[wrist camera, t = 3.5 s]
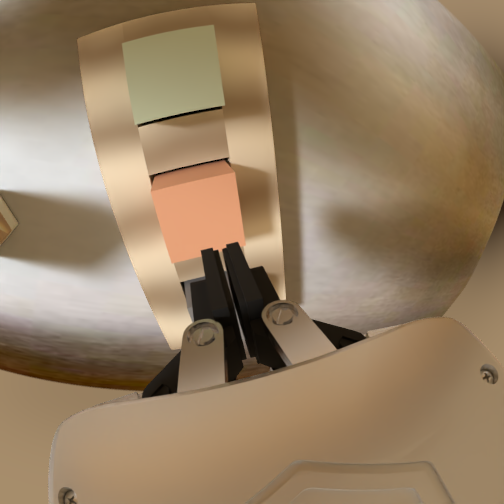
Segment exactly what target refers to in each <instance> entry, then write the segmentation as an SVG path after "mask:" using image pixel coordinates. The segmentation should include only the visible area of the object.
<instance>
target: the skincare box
mask: <svg viewBox="0 0 504 504" xmlns="http://www.w3.org/2000/svg"><path fill="white" fill-rule="evenodd" d="M17 225H18V222H17V220H16V219H15V217H14V216H13V214H12V213H11V211H10V210H9V208H8V206H7V205H6V203H5V202H4V200H3V199H2V197H1V196H0V246H1V245H2V243H3V242H4V241H5V240H6V239H7V237H8V236H9V235H10V234H11V233H12V231H13V230H14V229H15V228H16V227H17Z"/></svg>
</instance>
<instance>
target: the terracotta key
mask: <svg viewBox="0 0 504 504" xmlns="http://www.w3.org/2000/svg"><path fill="white" fill-rule="evenodd" d="M151 195H152V199H153V203H154V206H155V210H156V213H157V217H158V221H159V224H160V227H161V231H162V234H163V237H164V241H165V244H166V247H167V250H168V254H169V257H170V260H171V263H176V262H181V261H185V260H189V259H193V258H197V257H201V250H204V249H208V248H213V251H214V250H218V251H219V252H221V251H222V249H223V248H226V244H230V243H234V242H238V243H239V245H240V247H242V246H246V243H245V236H244V230H243V223H242V216H241V210H240V203H239V196H238V189H237V183H236V176H235V172H234V171H233V169H232V168H231V167H230V166H229V165H228V164H227V163H226V161H225V160H221V161H216V162H211V163H206V164H202V165H197V166H193V167H188V168H184V169H180V170H175V171H171V172H167V173H163V174H159V175H156V176H155V177H154V181H153V184H152V188H151Z"/></svg>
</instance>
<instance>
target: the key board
mask: <svg viewBox="0 0 504 504" xmlns="http://www.w3.org/2000/svg"><path fill="white" fill-rule="evenodd" d="M207 25H214V30H215V37H216V44H217V52H218V59H219V66H220V73H221V80H222V87H223V94H224V101H225V105H224V106H218V107H216V109H211V110H205V111H200V112H195V113H190V114H185V115H180V116H176V117H172V118H167V119H163V120H159V121H155V122H151V123H147V124H144V125H143V123H141V124H137V125H135V122H134V117H133V112H132V107H131V101H130V96H129V90H128V84H127V77H126V71H125V64H124V56H123V48H122V43H125V42H128V41H132V40H135V39H139V38H143V37H147V36H151V35H155V34H160V33H165V32H169V31H175V30H180V29H186V28H192V27H199V26H207ZM77 45H78V56H79V64H80V72H81V79H82V86H83V92H84V98H85V104H86V109H87V115H88V120H89V124H90V129H91V134H92V138H93V142H94V146H95V150H96V154H97V158H98V162H99V166H100V170H101V173H102V177H103V180H104V184H105V187H106V191H107V194H108V197H109V200H110V203H111V207H112V210H113V213H114V216H115V219H116V222H117V224H118V227H119V230H120V233H121V236H122V239H123V241H124V244H125V247H126V249H127V252H128V255H129V257H130V260H131V262H132V265H133V267H134V270H135V272H136V275H137V277H138V279H139V282H140V284H141V286H142V289H143V291H144V293H145V296H146V298H147V300H148V302H149V305H150V307H151V309H152V311H153V313H154V315H155V318H156V320H157V322H158V324H159V326H160V328H161V330H162V332H163V334H164V336H165V338H166V340H167V342H168V344H169V346H170V348H171V350H174V349H179V348H181V346H182V337H183V333H184V331H185V329H186V328H187V327H188V326H189V325H190V324H191V323H192V320H191V317H190V315H189V312H188V309H187V303H186V294H185V285H184V281H187V280H191V279H195V278H199V277H203V276H205V273H204V267H203V262H202V256H201V257H197V258H193V259H189V260H185V261H181V262H176V263H171V260H170V257H169V254H168V250H167V247H166V244H165V241H164V237H163V234H162V231H161V227H160V224H159V221H158V217H157V213H156V210H155V206H154V203H153V199H152V195H151V188H152V184H153V181H154V177H155V176H154V174H157V173H161V172H164V171H168V170H172V169H177V168H181V167H185V166H189V165H194V164H198V163H203V162H208V161H212V160H217V159H222V158H224V160H225V161H226V163H227V164H228V165H229V166H230V167H231V168H232V169H233V171H234V172H235V176H236V183H237V189H238V196H239V203H240V210H241V216H242V223H243V230H244V236H245V243H246V246H242V247H241V249H242V252H243V254H244V256H245V259H246V261H247V263H248V266H249V268H254V267H258V266H263V267H264V269H265V271H266V273H267V275H268V277H269V279H270V281H271V283H272V285H273V287H274V289H275V291H276V293H277V294H278V296H279V298H280V300H286V292H285V275H284V260H283V245H282V231H281V218H280V206H279V194H278V183H277V172H276V161H275V151H274V141H273V132H272V122H271V113H270V105H269V96H268V88H267V80H266V72H265V64H264V56H263V49H262V42H261V35H260V28H259V21H258V14H257V8H256V3H236V4H221V5H210V6H201V7H193V8H186V9H180V10H174V11H168V12H163V13H159V14H154V15H150V16H145V17H141V18H137V19H134V20H130V21H126V22H123V23H120V24H116V25H113V26H110V27H107V28H104V29H101V30H98V31H96V32H93V33H90V34H88V35H85V36H83V37H80V38H78V39H77ZM219 254H220V258H221V261H222V265H223V268H224V271H226V266H225V262H224V257H223V252H222V251H221V252H219Z"/></svg>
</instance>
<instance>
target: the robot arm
mask: <svg viewBox="0 0 504 504" xmlns="http://www.w3.org/2000/svg"><path fill="white" fill-rule="evenodd" d="M222 252H223V257H224V262H225V266H226V271H227V276H228V280H229V285H230V289H229V286H228V282H227V279H226V275H225V272H224V268H223V265H222V261H221V258H220V254H219V251H218V250H214V251H213V248H208V249H204V250H201V256H202V262H203V267H204V273H205V279H204V280H200V281H196V282H191V283H190V290H191V299H192V309H193V317H194V322H193V323H191V324H190V325H189V326H188V327H187V328H186V329H185V331H184V333H183V337H182V346H181V351H180V352H179V353H178V354H177V355H176V356H175V357H174V358H173V359H172V360H171V361H170V362H169V364H168V365H167V366H166V367H165V368H164V369H163V370H162V371H161V372H160V373H159V374H158V375H157V376H156V377H155V378H154V379H153V380H152V381H151V382H150V383H149V384H148V385H147V387H146V388H145V389H144V391H143V393H140V394H138V393H137V392H135V393H132V394H129V395H126V396H123V397H120V398H117V399H114V400H111V401H108V402H104V403H101V404H98V405H95V406H93V407H91V408H88V409H85V410H82V411H80V412H78V413H76V414H74V415H72V416H70V417H69V418H67V419H66V420H65V421H64V422H62V423H61V424H60V426H59V427H58V429H57V431H56V433H55V436H54V439H53V443H52V448H51V454H50V462H49V478H48V494H49V504H504V367H503V366H502V365H501V363H500V362H499V361H498V360H497V358H496V357H495V356H494V355H493V354H492V352H491V351H490V350H489V349H488V348H487V347H486V346H485V345H484V343H482V341H481V340H480V339H479V338H478V337H477V336H476V335H475V334H474V333H473V332H472V331H470V330H469V329H468V328H467V327H466V326H464V325H463V324H462V323H460V322H459V321H457V320H455V319H452V318H448V317H431V318H424V319H419V320H415V321H412V322H409V323H405V324H401V325H396V326H392V327H387V328H381V329H376V330H371V331H367V333H366V334H364V335H362V334H361V333H359V332H356V331H353V330H349V329H345V328H342V327H338V326H334V325H331V324H327V323H323V322H320V321H316V320H312V319H311V318H310V317H309V316H308V315H307V314H306V313H305V311H304V310H303V309H302V308H301V307H300V306H299V305H298V304H297V303H295V302H293V301H289V300H280V298H279V296H278V294H277V293H276V291H275V289H274V287H273V285H272V283H271V281H270V279H269V277H268V275H267V273H266V271H265V269H264V267H263V266H258V267H254V268H249V266H248V263H247V261H246V259H245V256H244V254H243V252H242V249H241V247H240V245H239V243H238V242H234V243H230V244H226V248H223V249H222ZM230 290H231V293H230ZM231 294H232V296H231ZM233 302H234V303H233ZM234 306H235V307H234ZM235 309H236V311H235ZM236 312H237V315H236ZM237 316H238V319H239V322H240V325H241V329H242V332H243V335H244V338H245V342H246V345H247V348H248V351H249V354H250V357H251V358H252V357H256V360H257V363H258V364H259V363H261V364H264V365H266V366H269V369H270V372H267V373H263V374H259V375H256V376H252V377H248V378H244V379H240V380H238V378H237V375H238V374H239V372H240V371H241V370H242V368H243V363H242V360H244V359H247V358H246V354H245V350H244V346H243V341H242V337H241V333H240V328H239V324H238V319H237Z"/></svg>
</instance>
